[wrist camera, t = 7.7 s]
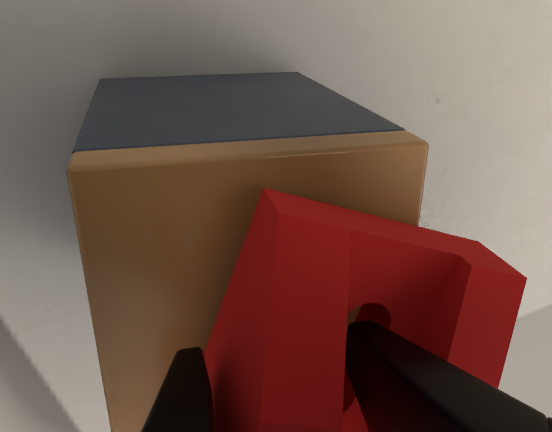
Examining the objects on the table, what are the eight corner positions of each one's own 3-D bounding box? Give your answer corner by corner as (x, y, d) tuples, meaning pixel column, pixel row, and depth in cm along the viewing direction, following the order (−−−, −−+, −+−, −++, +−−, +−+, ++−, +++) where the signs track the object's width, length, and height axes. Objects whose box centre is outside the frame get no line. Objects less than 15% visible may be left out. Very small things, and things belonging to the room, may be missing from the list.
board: (116, 424, 12) (115, 459, 11) (71, 150, 9) (64, 168, 8) (379, 377, 13) (396, 404, 12) (406, 129, 11) (431, 142, 10)
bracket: (358, 470, 13) (419, 600, 10) (164, 463, 11) (176, 619, 8) (478, 241, 11) (595, 329, 8) (263, 187, 9) (320, 276, 6)
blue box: (123, 260, 19) (116, 424, 12) (99, 78, 16) (71, 150, 9) (295, 241, 20) (379, 377, 13) (298, 71, 18) (406, 129, 11)
